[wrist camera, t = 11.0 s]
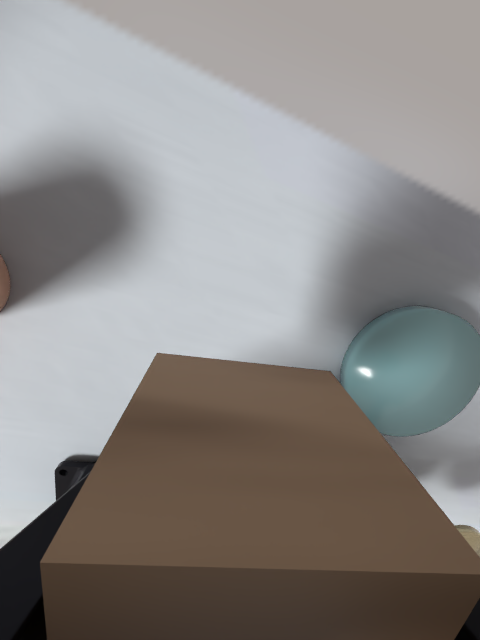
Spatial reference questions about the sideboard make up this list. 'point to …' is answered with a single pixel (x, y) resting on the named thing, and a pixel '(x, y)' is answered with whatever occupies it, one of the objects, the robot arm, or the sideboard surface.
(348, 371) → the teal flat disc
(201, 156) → the sideboard surface
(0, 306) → the peach rounded cylinder
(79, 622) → the block
